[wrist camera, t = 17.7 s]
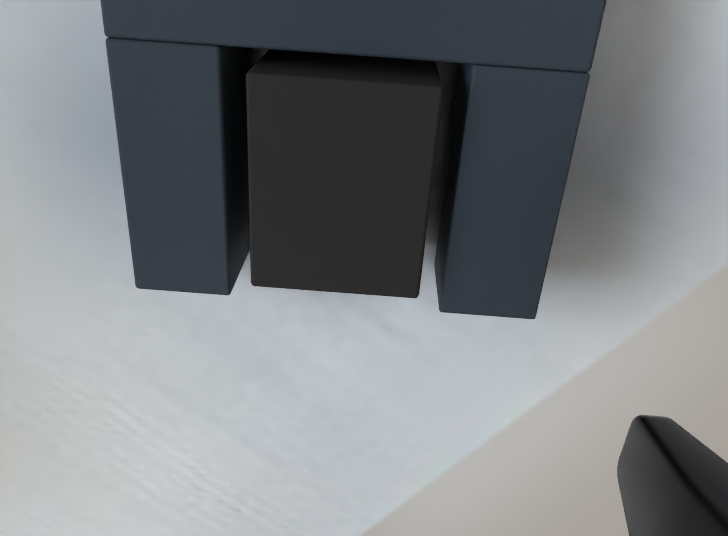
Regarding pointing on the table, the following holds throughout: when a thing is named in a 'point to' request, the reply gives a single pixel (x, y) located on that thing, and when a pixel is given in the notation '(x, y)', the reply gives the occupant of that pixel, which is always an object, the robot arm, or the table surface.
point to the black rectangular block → (340, 170)
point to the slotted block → (360, 38)
